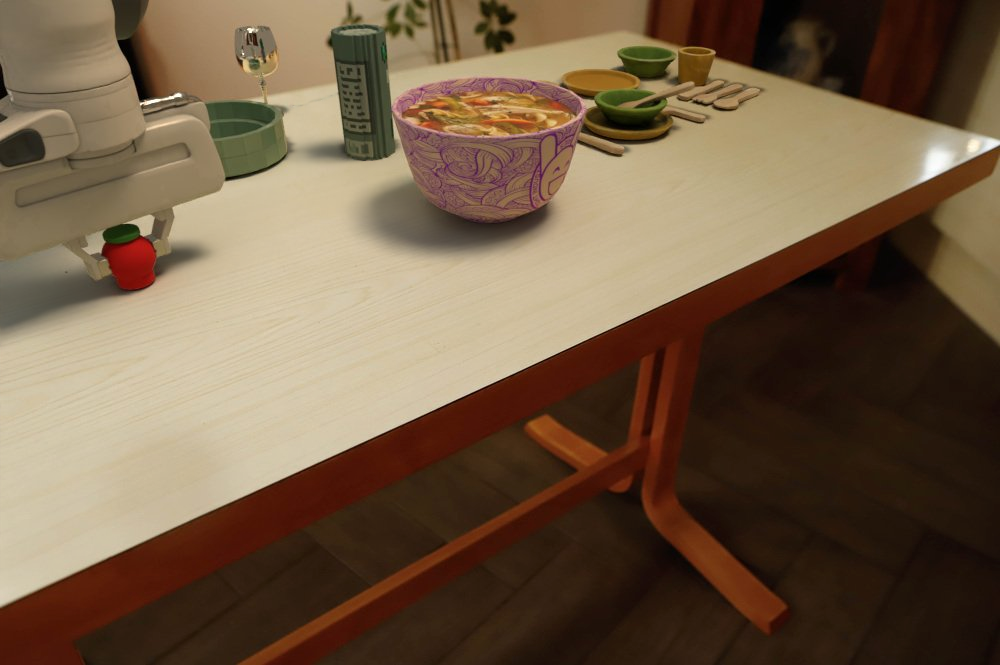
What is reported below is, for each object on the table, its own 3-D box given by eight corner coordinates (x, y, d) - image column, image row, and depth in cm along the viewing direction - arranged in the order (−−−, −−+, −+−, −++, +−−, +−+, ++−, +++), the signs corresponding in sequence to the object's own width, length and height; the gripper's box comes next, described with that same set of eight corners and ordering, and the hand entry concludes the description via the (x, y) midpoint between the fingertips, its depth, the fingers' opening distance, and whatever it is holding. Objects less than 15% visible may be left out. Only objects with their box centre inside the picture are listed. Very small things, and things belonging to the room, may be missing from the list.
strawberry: (102, 281, 67) (84, 231, 64) (148, 264, 69) (133, 215, 66) (124, 298, 64) (106, 247, 61) (171, 280, 67) (156, 230, 64)
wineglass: (294, 117, 105) (280, 30, 98) (255, 125, 102) (238, 36, 96) (280, 107, 109) (265, 23, 102) (242, 114, 106) (225, 28, 100)
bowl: (137, 159, 92) (125, 120, 89) (245, 128, 101) (238, 92, 99) (200, 193, 83) (190, 151, 80) (312, 156, 93) (306, 117, 90)
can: (402, 146, 96) (393, 26, 87) (379, 162, 91) (366, 37, 83) (362, 140, 98) (349, 22, 89) (338, 155, 93) (321, 33, 84)
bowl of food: (600, 242, 74) (611, 131, 67) (404, 256, 71) (395, 143, 65) (556, 167, 90) (561, 72, 83) (395, 177, 87) (387, 80, 81)
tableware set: (615, 161, 92) (620, 112, 88) (466, 111, 108) (465, 68, 104) (772, 93, 116) (781, 52, 112) (631, 61, 132) (635, 24, 128)
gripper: (183, 79, 66) (216, 217, 74) (-76, 136, 53) (-3, 295, 61) (220, 94, 62) (250, 236, 70) (-48, 158, 50) (26, 323, 58)
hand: (131, 264), depth 66 cm, fingers closed on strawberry, 4 cm apart
